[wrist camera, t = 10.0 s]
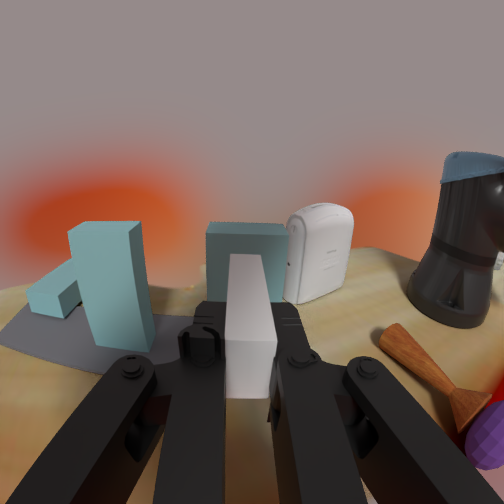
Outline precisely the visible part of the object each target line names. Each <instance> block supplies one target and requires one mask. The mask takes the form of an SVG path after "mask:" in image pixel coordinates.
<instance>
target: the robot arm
mask: <svg viewBox="0 0 504 504" xmlns="http://www.w3.org/2000/svg"><path fill="white" fill-rule="evenodd" d="M440 184H442V185H441V191H440V198H439V203H438V210H437V214H436V219H435V224H434V228H433V233H432V238H431V242H430V246H429V248H428V249H427V251H426V253H425V255H424V257H423V258H422V260H421V262H420V264H419V266H418V268H417V269H416V270H415V271H414V272H413V273H412V275H411V277H410V280H409V284H408V287H407V295H408V297H409V299H410V301H411V302H412V303H413V304H414V305H415V306H416V307H417V308H418V309H419V310H420V311H422V312H423V313H424V314H426V315H427V316H429V317H431V318H432V319H434V320H436V321H438V322H441V323H443V324H446V325H449V326H453V327H457V328H475V327H478V326H480V325H481V324H482V323H483V322H484V320H485V317H486V315H487V313H488V310H489V307H490V298H491V290H492V279H493V269H494V266H495V262H496V259H497V256H498V253H499V252H502V253H504V158H503V157H501V156H497V155H491V154H486V153H478V152H453V153H451V154H449V155H448V156H447V157H446V159H445V162H444V169H443V175H442V180H441V181H440ZM177 338H178V345H179V353H180V358H179V359H177V360H175V361H173V362H169V363H164V364H156V365H153V363H152V362H151V361H150V359H148V358H146V357H144V356H142V355H136V354H133V355H126V356H124V357H121V358H119V359H118V360H117V361H115V362H114V363H113V364H112V366H111V367H110V368H109V369H108V370H107V372H106V373H105V374H104V375H103V376H102V378H101V379H100V380H99V381H98V382H97V384H96V385H95V386H94V387H93V388H92V390H91V391H90V392H89V393H88V395H87V396H86V397H85V398H84V399H83V401H82V402H81V403H80V404H79V406H78V407H77V408H76V409H75V411H74V412H73V413H72V414H71V416H70V417H69V418H68V419H67V421H66V422H65V423H64V424H63V426H62V427H61V428H60V430H59V431H58V432H57V433H56V435H55V436H54V437H53V439H52V440H51V441H50V443H49V444H48V445H47V446H46V448H45V449H44V450H43V452H42V453H41V454H40V456H39V457H38V458H37V460H36V461H35V462H34V464H33V465H32V467H31V468H30V469H29V471H28V472H27V473H26V475H25V476H24V478H23V479H22V480H21V482H20V483H19V485H18V486H17V487H16V489H15V490H14V492H13V493H12V495H11V496H10V497H9V499H8V500H7V502H6V503H5V504H126V502H127V500H128V498H129V496H130V495H131V493H132V491H133V489H134V487H135V485H136V483H137V481H138V479H139V478H140V476H141V474H142V472H143V470H144V468H145V466H146V464H147V462H148V460H149V458H150V457H151V455H152V453H153V451H154V449H155V447H156V445H157V443H158V441H159V439H160V437H161V436H162V434H163V432H164V430H165V432H164V437H163V443H162V448H161V454H160V460H159V466H158V472H157V478H156V484H155V491H154V498H153V504H225V425H226V398H268V397H269V391H270V398H271V403H270V408H269V414H268V419H267V422H271V430H272V439H273V448H274V457H275V466H276V475H277V483H278V492H279V501H280V504H368V502H367V499H366V495H365V492H364V488H363V485H362V482H361V478H362V480H363V482H364V483H365V485H366V486H367V488H368V489H369V491H370V492H371V494H372V495H373V497H374V499H375V500H376V502H377V503H378V504H504V502H503V501H502V499H501V498H500V497H499V496H498V495H497V493H496V492H495V491H494V490H493V488H492V487H491V486H490V485H489V484H488V482H487V481H486V480H485V479H484V478H483V476H482V475H481V474H480V473H479V472H478V470H477V469H476V468H475V467H474V466H473V465H472V463H471V462H470V461H469V460H468V459H467V458H466V456H465V455H464V454H463V453H462V452H461V451H460V449H459V448H458V447H457V446H456V445H455V444H454V443H453V441H452V440H451V439H450V438H449V437H448V436H447V435H446V433H445V432H444V431H443V430H442V429H441V428H440V427H439V425H438V424H437V423H436V422H435V421H434V420H433V419H432V418H431V416H430V415H429V414H428V413H427V412H426V411H425V410H424V409H423V408H422V406H421V405H420V404H419V403H418V402H417V401H416V400H415V399H414V398H413V396H412V395H411V394H410V393H409V392H408V391H407V390H406V389H405V388H404V387H403V385H402V384H401V383H400V382H399V381H398V380H397V379H396V378H395V377H394V376H393V375H392V373H391V372H390V371H389V370H388V369H387V368H386V367H385V366H384V365H383V364H382V363H381V362H379V361H378V360H376V359H374V358H371V357H366V356H361V357H356V358H354V359H352V360H350V362H349V363H348V365H347V366H341V365H335V364H330V363H326V362H324V361H322V360H321V358H320V356H319V355H318V353H316V352H315V351H313V350H312V349H310V346H309V343H308V340H307V337H306V334H305V331H304V328H303V325H302V322H301V319H300V316H299V313H298V310H297V309H296V308H295V307H294V306H293V305H292V304H291V303H290V302H270V300H269V295H268V290H267V285H266V279H265V274H264V269H263V264H262V259H261V255H252V254H230V264H229V278H228V292H227V302H216V301H202V302H201V303H200V304H199V305H198V306H197V307H196V311H195V315H194V319H193V324H192V325H191V326H187V327H186V328H184V329H183V330H181V331H180V333H179V334H178V336H177ZM360 477H361V478H360Z"/></svg>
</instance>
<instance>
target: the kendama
mask: <svg viewBox="0 0 504 504" xmlns="http://www.w3.org/2000/svg"><path fill="white" fill-rule="evenodd" d="M379 347H380V348H381V349H382V350H384V351H385V352H386V353H388V354H389V355H390V356H392V357H393V358H395V359H396V360H397V361H399V362H400V363H402V364H403V365H404V366H406V367H407V368H408V369H410V370H411V371H413V372H414V373H415V374H417V375H418V376H420V377H421V378H422V379H424V380H425V381H426V382H428V383H429V384H431V385H432V386H433V387H435V388H436V389H438V390H439V391H440V392H442V393H443V394H444V395H446V396H447V397H449V400H450V404H451V407H452V411H453V415H454V418H455V422H456V426H457V430H458V434H460V433H461V432H463V431H464V430H465V429H466V428H467V427H468V426H469V425H470V424H472V425H471V427H470V429H469V431H468V433H467V435H466V442H465V451H466V456H467V459H468V460H469V461H470V462H471V463H472V465H473V466H474V467H476V468H479V469H483V470H490V469H495V468H499V467H500V466H502V465H504V400H502V401H499V402H495V403H493V404H491V405H490V406H488V407H487V408H486V409H484V408H485V407H486V405H487V403H488V402H489V400H490V398H491V397H492V394H489V393H483V392H477V391H471V390H466V389H460V388H456V386H455V385H454V384H453V383H452V382H451V380H450V379H449V378H448V377H447V376H446V375H445V373H444V372H443V371H442V370H441V369H440V368H439V366H438V365H437V364H436V363H435V362H434V361H433V360H432V358H431V357H430V356H429V355H428V354H427V353H426V352H425V351H424V350H423V348H422V347H421V346H420V345H419V344H418V343H417V342H416V341H415V340H414V339H413V337H412V336H411V335H410V334H409V333H408V332H407V331H406V330H405V329H404V328H403V327H402V326H401V325H400V324H398V323H395V324H392V325H391V326H389V327H388V328H387V329H386V330H385V331H384V332H383V334H382V335H381V337H380V340H379Z"/></svg>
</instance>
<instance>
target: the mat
mask: <svg viewBox="0 0 504 504" xmlns="http://www.w3.org/2000/svg"><path fill="white" fill-rule="evenodd" d="M152 315H153V320H154V326H155V331H156V335H155V338H154V340H153V343H152V346H151V348H150V351H149V353H148V352H139V351H132V350H124V349H117V348H111V347H105V346H99V345H96V343H95V340H94V337H93V334H92V331H91V328H90V325H89V322H88V319H87V316H86V312H85V309H84V307H80V306H75V307H74V308H73V310H72V311H71V312H70V313H69V314H68V315H67V316H66V317H65V318H59V317H54V316H49V315H44V314H39V313H34V312H31V308H30V305H29V302H28V303H27V304H26V305H25V306H24V307H23V308H22V309H21V310H20V311H19V312H18V313H17V315H16V316H15V317H14V318H13V319H12V320H11V321H10V322H9V323H8V324H7V325H6V326H5V327H4V328H3V329H2V331H1V332H0V344H1V345H3V346H6V347H8V348H11V349H14V350H16V351H19V352H22V353H25V354H28V355H31V356H34V357H37V358H40V359H43V360H46V361H50V362H53V363H57V364H60V365H64V366H68V367H71V368H75V369H80V370H84V371H88V372H92V373H97V374H102V375H104V374H105V373H106V372H107V370H108V369H109V368H110V367H111V366H112V364H113V363H114V362H115V361H117V360H118V359H119V358H121V357H124V356H126V355H133V354H136V355H142V356H144V357H146V358H148V359H150V361H151V362H152V363H153V365H156V364H164V363H169V362H173V361H175V360H177V359H179V358H180V353H179V345H178V338H177V336H178V334H179V333H180V331H181V330H183V329H184V328H186V327H187V326H191V325H192V324H193V319H194V317H188V316H171V315H157V314H152Z"/></svg>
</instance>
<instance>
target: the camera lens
mask: <svg viewBox="0 0 504 504" xmlns="http://www.w3.org/2000/svg"><path fill="white" fill-rule="evenodd" d="M503 260H504V253H502V252H499V253H498V256H497V259H496V262H495V266H494V269H495V270H500V267H501V266H502V263H503Z"/></svg>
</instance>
